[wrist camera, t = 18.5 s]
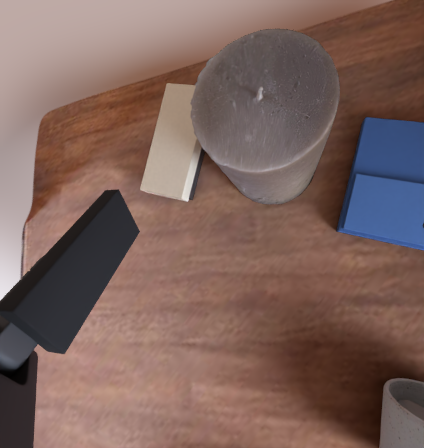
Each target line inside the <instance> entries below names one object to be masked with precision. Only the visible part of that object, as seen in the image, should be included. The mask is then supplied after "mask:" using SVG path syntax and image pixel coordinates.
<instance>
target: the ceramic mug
mask: <svg viewBox="0 0 424 448" xmlns="http://www.w3.org/2000/svg"><path fill="white" fill-rule="evenodd" d="M379 448H424V382H421V381H416V380H411V379H403V378H396V379H390V380H388V381H387V382H386V383H385V385H384V388H383V402H382V416H381V435H380V446H379Z"/></svg>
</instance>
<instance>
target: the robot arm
mask: <svg viewBox="0 0 424 448" xmlns="http://www.w3.org/2000/svg"><path fill="white" fill-rule="evenodd" d="M422 226H423V228H424V223H423V225H422ZM139 232H140V231H139V229H138V227H137V225H136V223H135V221H134V219H133V217H132V215H131V213H130V211H129V209H128V207H127V205H126V203H125V201H124V199H123V197H122V195H121V193H120V191H119V189H118V190H105V191H104V193H103V194H102V195H101V196H100V197H99V198H98V199H97V200H96V201H95V202H94V203H93V204H92V205H91V206H90V208H89V209H88V210H87V211H86V212H85V213H84V214H83V215H82V216H81V217H80V218H79V219H78V220H77V221H76V223H75V224H74V225H73V226H72V227H71V228H70V229H69V230H68V231H67V232H66V233H65V234H64V235H63V236H62V237H61V239H60V240H59V241H58V242H57V243H56V244H55V245H54V246H53V247H52V248H51V249H50V250H49V251H48V252H47V254H46V255H44V256H43V257H42V258H40V259H39V260H38V261H37V262H36V263H35V265H34V266H33V267H32V268H31V269H30V271H28V272H27V273H26V274H25V275H24V276H23V277H22V280H19V282H18V283H17V284H16V285H15V286H14V287H13V288H12V289H11V290H10V291H9V292H8V293H7V294H6V295H5V297H4V298H3V299H2V300H1V301H0V448H33V441H34V422H35V402H36V383H37V363H38V356H37V353H36V352H35V351H34V348H35V347H36V346H37V344H39V345H40V346H41V347H43V348H44V349H45V350H46V351H48V352H54V353H60V354H65V352H66V351H67V349H68V348H69V346H70V344H71V343H72V341H73V339H74V338H75V336H76V335H77V333H78V331H79V330H80V328H81V326H82V325H83V323H84V322H85V320H86V318H87V317H88V315H89V313H90V312H91V310H92V309H93V307H94V305H95V304H96V302H97V300H98V299H99V297H100V296H101V294H102V292H103V291H104V289H105V287H106V286H107V284H108V283H109V281H110V279H111V278H112V276H113V274H114V273H115V271H116V270H117V268H118V266H119V265H120V263H121V261H122V260H123V258H124V257H125V255H126V253H127V252H128V250H129V248H130V247H131V245H132V244H133V242H134V240H135V239H136V237H137V235H138V234H139Z"/></svg>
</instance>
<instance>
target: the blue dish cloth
mask: <svg viewBox="0 0 424 448" xmlns="http://www.w3.org/2000/svg"><path fill="white" fill-rule="evenodd" d="M423 223H424V122H413V121H402V120H391V119H381V118H370V117H366V118H365V119H364V121H363V122H362V126H361V130H360V135H359V139H358V143H357V147H356V151H355V155H354V160H353V164H352V168H351V172H350V176H349V180H348V185H347V189H346V193H345V197H344V201H343V206H342V210H341V214H340V218H339V222H338V226H337V232H341V233H346V234H350V235H355V236H359V237H364V238H369V239H373V240H378V241H382V242H387V243H391V244H396V245H401V246H405V247H410V248H414V249H419V250H424V228H423V226H422V225H423Z"/></svg>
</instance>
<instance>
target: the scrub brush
mask: <svg viewBox="0 0 424 448" xmlns="http://www.w3.org/2000/svg"><path fill="white" fill-rule="evenodd" d="M195 87H196V85H184V84H171V83H167V85H166V89H165V93H164V97H163V101H162V104H161V108H160V112H159V116H158V120H157V124H156V128H155V132H154V136H153V140H152V144H151V148H150V152H149V156H148V160H147V163H146V167H145V171H144V175H143V179H142V183H141V187H140V190H142V191H144V192H147V193H150V194H155V195H159V196H164V197H168V198H173V199H177V200H182V201H186V202H188V200H189V199H190V200H193V196H194V192H195V188H196V184H197V180H198V176H199V172H200V168H201V164H202V160H203V157H204V153H205V150H204V149H203V148H202V146H201V144H200V142H199V141H198V139H197V137H196V135H195V134H194V127H193V124H192V119H191V117H190V116H191V110H192V105H191V104H190V103H191V99H192V98H193V95H194V91H195Z"/></svg>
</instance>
